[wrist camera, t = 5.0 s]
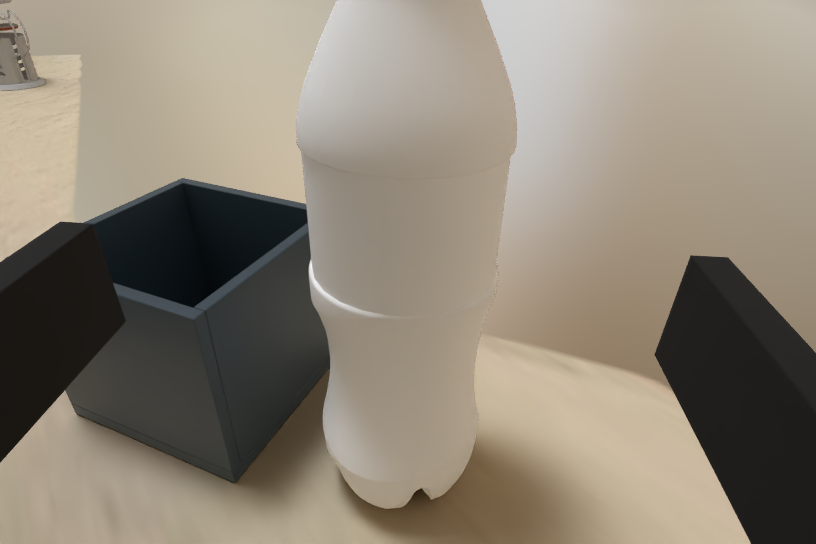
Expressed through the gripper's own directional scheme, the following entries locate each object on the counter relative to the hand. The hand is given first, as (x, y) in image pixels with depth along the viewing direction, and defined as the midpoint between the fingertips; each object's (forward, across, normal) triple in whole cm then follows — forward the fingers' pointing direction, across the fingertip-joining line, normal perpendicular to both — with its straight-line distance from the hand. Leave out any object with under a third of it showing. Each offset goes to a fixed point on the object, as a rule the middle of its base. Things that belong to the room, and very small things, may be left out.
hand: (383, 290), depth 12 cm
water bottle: (+7, 0, -15) cm, 17 cm away
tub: (+12, -11, -15) cm, 22 cm away
